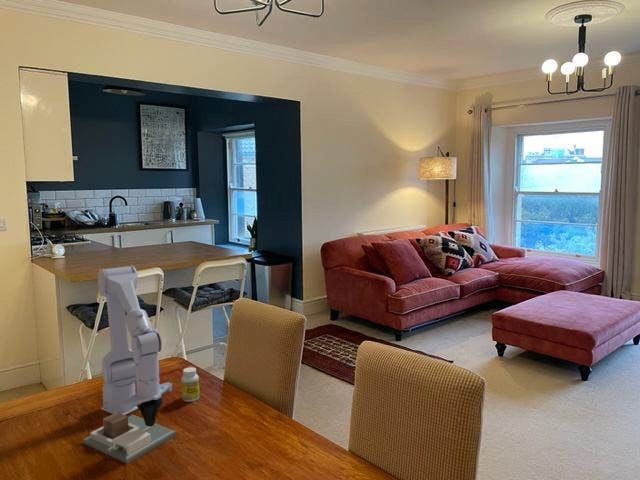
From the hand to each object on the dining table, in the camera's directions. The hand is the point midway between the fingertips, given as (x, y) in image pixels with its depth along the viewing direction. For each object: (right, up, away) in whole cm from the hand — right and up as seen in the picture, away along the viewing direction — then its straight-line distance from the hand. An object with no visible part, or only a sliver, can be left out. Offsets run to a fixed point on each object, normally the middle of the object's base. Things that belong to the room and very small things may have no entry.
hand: (149, 424), depth 135 cm
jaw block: (-10, -4, +2) cm, 11 cm away
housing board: (-6, -4, +1) cm, 7 cm away
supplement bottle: (+5, -1, +25) cm, 26 cm away
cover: (-3, -4, -4) cm, 7 cm away
